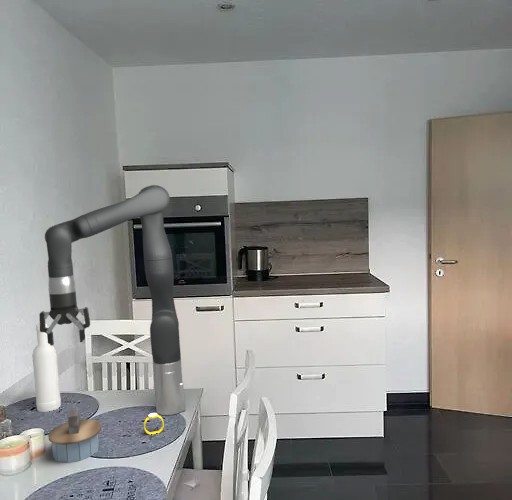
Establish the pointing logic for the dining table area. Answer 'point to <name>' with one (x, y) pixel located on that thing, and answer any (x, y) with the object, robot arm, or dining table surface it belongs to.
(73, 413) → the lid
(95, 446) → the bowl
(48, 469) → the dining table surface
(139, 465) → the dining table surface
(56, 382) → the bottle
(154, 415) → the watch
